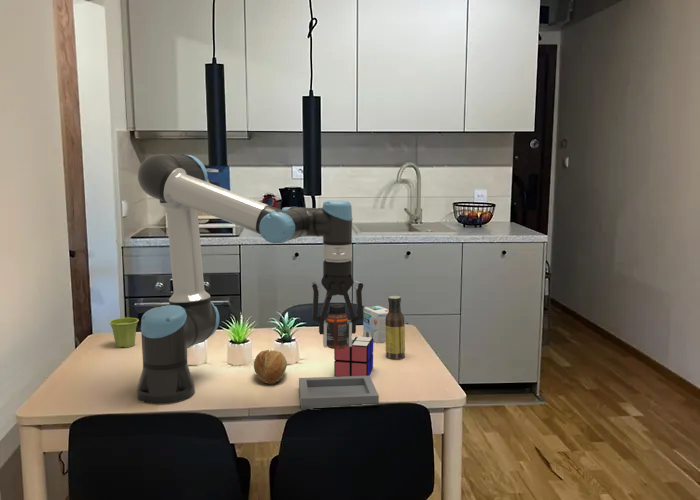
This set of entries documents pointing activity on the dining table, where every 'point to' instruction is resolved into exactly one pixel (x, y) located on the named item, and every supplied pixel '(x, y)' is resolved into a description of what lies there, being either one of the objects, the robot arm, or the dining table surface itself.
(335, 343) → the supplement bottle
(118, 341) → the plant pot
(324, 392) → the tray
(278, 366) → the bread roll
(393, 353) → the sauce bottle
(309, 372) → the dining table surface
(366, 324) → the light bulb box
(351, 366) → the puzzle cube
